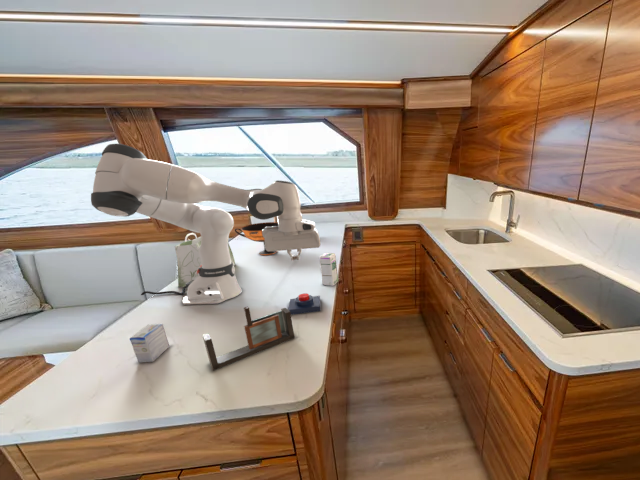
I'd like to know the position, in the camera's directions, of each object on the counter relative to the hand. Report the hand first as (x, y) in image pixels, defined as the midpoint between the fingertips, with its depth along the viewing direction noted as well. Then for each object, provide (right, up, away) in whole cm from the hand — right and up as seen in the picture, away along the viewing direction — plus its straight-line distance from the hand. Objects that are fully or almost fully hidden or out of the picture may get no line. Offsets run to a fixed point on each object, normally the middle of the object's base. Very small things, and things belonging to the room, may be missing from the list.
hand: (295, 259), depth 116 cm
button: (+2, -16, +3) cm, 16 cm away
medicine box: (-35, -30, -24) cm, 52 cm away
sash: (-2, -27, -22) cm, 35 cm away
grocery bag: (-60, -7, +41) cm, 73 cm away
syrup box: (+7, -11, +28) cm, 30 cm away
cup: (-45, +6, +76) cm, 89 cm away
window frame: (-5, -29, -23) cm, 37 cm away
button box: (+2, -19, +4) cm, 20 cm away
